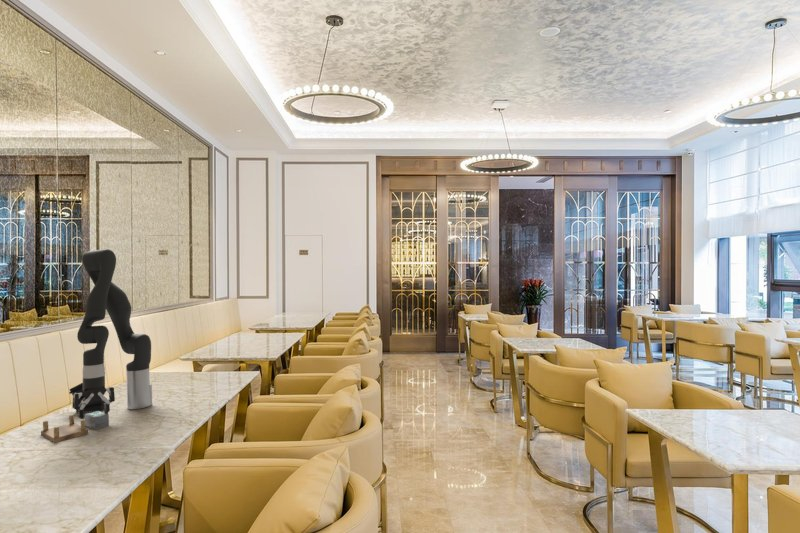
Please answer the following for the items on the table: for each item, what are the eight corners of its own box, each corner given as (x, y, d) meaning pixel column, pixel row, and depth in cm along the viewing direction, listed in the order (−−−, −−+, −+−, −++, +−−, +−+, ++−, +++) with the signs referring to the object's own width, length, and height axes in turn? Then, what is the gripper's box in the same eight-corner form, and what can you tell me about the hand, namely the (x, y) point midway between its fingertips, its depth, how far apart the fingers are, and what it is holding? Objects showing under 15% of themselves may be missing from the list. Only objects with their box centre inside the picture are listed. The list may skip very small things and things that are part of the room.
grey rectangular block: (98, 422, 193) (98, 410, 193) (108, 426, 188) (108, 413, 188) (85, 426, 189) (84, 413, 189) (95, 430, 184) (94, 417, 184)
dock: (74, 426, 189) (74, 414, 189) (88, 433, 179) (87, 420, 180) (41, 434, 180) (40, 421, 180) (54, 442, 171) (53, 428, 171)
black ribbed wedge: (108, 406, 210) (92, 377, 209) (80, 421, 208) (63, 392, 207) (112, 404, 214) (96, 375, 213) (85, 418, 212) (68, 389, 211)
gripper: (109, 371, 196) (110, 410, 196) (69, 377, 185) (70, 418, 185) (116, 373, 192) (117, 413, 191) (76, 379, 181) (76, 422, 180)
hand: (94, 416), depth 188 cm, fingers open, 8 cm apart
